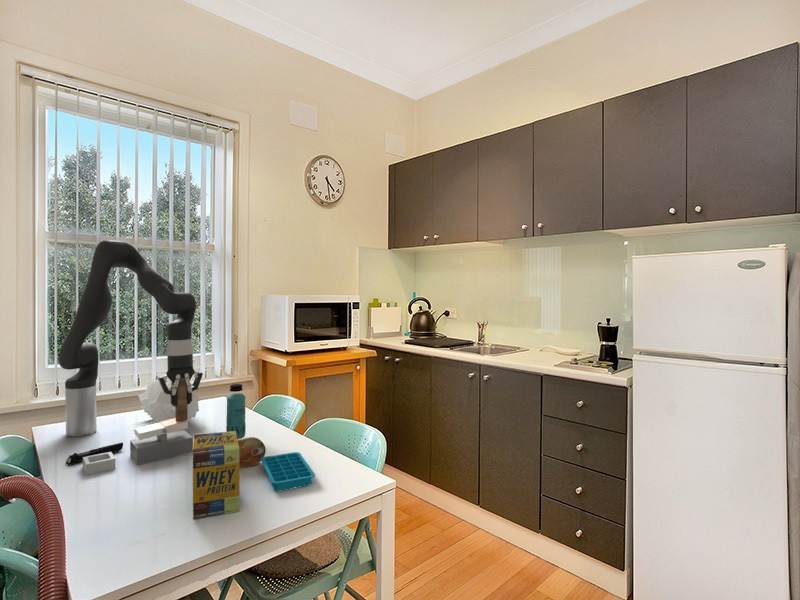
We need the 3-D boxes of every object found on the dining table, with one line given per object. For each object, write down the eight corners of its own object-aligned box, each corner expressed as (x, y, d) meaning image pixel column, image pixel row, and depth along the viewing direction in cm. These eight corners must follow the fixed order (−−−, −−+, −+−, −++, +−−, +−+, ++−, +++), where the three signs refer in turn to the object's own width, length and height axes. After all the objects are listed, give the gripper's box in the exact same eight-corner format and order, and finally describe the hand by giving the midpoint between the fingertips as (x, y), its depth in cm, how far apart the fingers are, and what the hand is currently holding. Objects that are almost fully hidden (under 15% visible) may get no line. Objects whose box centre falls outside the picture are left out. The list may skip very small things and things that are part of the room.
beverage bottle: (221, 442, 156) (221, 385, 155) (235, 436, 162) (235, 381, 162) (236, 445, 153) (236, 387, 153) (250, 439, 160) (249, 383, 159)
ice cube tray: (272, 495, 118) (272, 483, 118) (260, 467, 136) (260, 457, 136) (316, 486, 123) (316, 475, 123) (298, 461, 141) (298, 451, 141)
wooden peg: (174, 419, 149) (173, 377, 148) (185, 417, 151) (185, 375, 150) (177, 421, 146) (176, 379, 145) (189, 419, 148) (188, 377, 148)
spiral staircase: (172, 423, 190) (191, 435, 171) (129, 412, 180) (143, 423, 161) (191, 382, 196) (211, 389, 177) (150, 369, 185) (166, 375, 166)
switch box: (130, 455, 143) (130, 434, 143) (183, 444, 154) (183, 424, 154) (137, 465, 136) (136, 442, 136) (192, 452, 146) (192, 431, 146)
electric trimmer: (125, 452, 147) (125, 443, 147) (69, 466, 135) (69, 456, 135) (120, 450, 150) (120, 440, 150) (65, 464, 137) (65, 453, 137)
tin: (212, 473, 130) (212, 444, 130) (211, 469, 133) (211, 441, 133) (265, 464, 137) (265, 437, 137) (263, 460, 140) (263, 434, 140)
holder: (82, 467, 134) (82, 457, 134) (111, 461, 139) (111, 451, 139) (86, 474, 129) (86, 464, 128) (115, 468, 133) (115, 458, 133)
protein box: (192, 520, 104) (192, 454, 104) (194, 492, 118) (193, 434, 118) (240, 511, 108) (240, 448, 108) (236, 485, 122) (236, 429, 122)
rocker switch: (134, 434, 143) (134, 427, 143) (181, 422, 152) (181, 416, 152) (140, 440, 137) (139, 433, 137) (188, 428, 146) (188, 421, 146)
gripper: (198, 349, 155) (200, 399, 156) (153, 354, 146) (154, 406, 146) (206, 352, 150) (207, 403, 150) (159, 356, 140) (160, 411, 141)
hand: (181, 404), depth 148 cm, fingers closed on wooden peg, 3 cm apart
